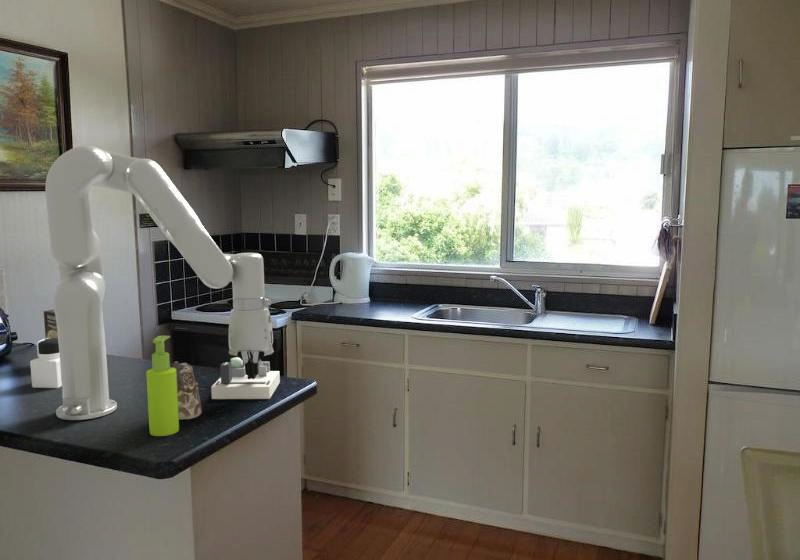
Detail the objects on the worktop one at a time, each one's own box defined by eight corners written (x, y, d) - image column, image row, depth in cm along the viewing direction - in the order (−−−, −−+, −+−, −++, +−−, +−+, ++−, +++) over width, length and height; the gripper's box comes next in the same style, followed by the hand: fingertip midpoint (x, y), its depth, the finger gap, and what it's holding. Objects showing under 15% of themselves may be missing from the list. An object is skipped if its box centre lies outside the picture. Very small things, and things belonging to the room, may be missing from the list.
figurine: (179, 422, 146) (176, 368, 145) (162, 415, 151) (159, 363, 149) (207, 413, 152) (205, 362, 150) (190, 407, 156) (187, 357, 155)
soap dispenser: (184, 424, 145) (179, 333, 142) (174, 436, 138) (169, 341, 135) (156, 424, 145) (151, 333, 142) (145, 436, 138) (140, 341, 135)
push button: (241, 369, 172) (241, 360, 171) (229, 369, 172) (229, 360, 171) (244, 366, 175) (243, 357, 174) (232, 366, 175) (232, 357, 174)
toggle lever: (267, 371, 172) (249, 342, 171) (261, 375, 172) (243, 346, 171) (270, 368, 175) (252, 340, 174) (263, 372, 175) (245, 343, 174)
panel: (269, 398, 162) (268, 376, 162) (211, 399, 162) (210, 376, 162) (279, 382, 176) (279, 361, 175) (226, 382, 176) (225, 361, 175)
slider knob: (229, 383, 163) (228, 364, 163) (221, 383, 163) (220, 364, 163) (232, 379, 166) (231, 362, 166) (224, 379, 166) (223, 362, 166)
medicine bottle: (74, 380, 178) (70, 336, 177) (57, 388, 171) (54, 342, 170) (48, 380, 179) (45, 336, 177) (31, 387, 172) (27, 342, 170)
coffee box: (46, 365, 194) (41, 310, 192) (67, 360, 199) (63, 307, 197) (64, 370, 189) (60, 313, 187) (85, 364, 194) (82, 310, 192)
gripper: (282, 301, 166) (285, 373, 169) (222, 301, 166) (225, 373, 168) (277, 306, 159) (280, 381, 161) (214, 307, 159) (217, 382, 161)
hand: (252, 377), depth 165 cm, fingers closed
